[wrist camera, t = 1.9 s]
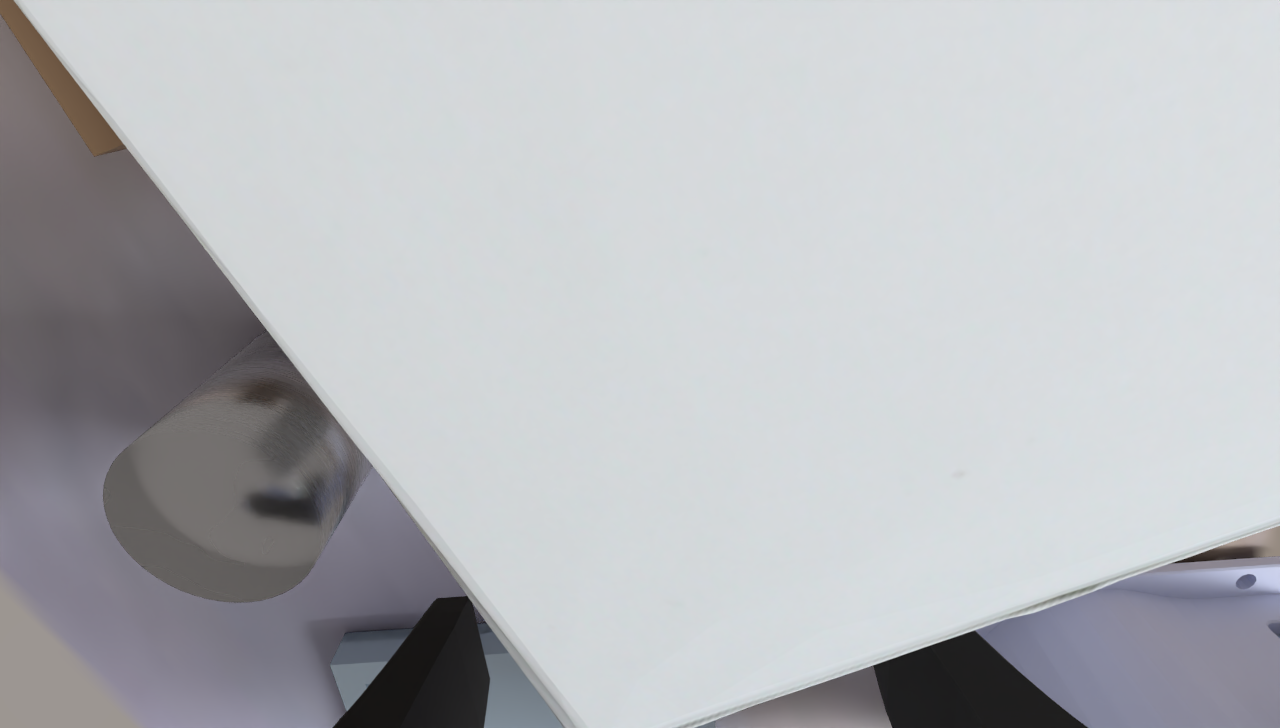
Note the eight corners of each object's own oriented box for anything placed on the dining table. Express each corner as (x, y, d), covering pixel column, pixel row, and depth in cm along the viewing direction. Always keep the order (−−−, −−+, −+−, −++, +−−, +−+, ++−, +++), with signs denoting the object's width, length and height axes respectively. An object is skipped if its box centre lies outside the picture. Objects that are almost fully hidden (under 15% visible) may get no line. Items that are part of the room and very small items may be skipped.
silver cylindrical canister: (377, 315, 18) (284, 421, 13) (414, 458, 19) (344, 595, 15) (213, 330, 18) (67, 439, 13) (265, 470, 20) (151, 609, 15)
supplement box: (810, -245, 13) (1940, -1985, 2) (930, 143, 16) (1664, 458, 5) (454, -38, 15) (-233, -249, 3) (623, 285, 17) (592, 805, 6)
